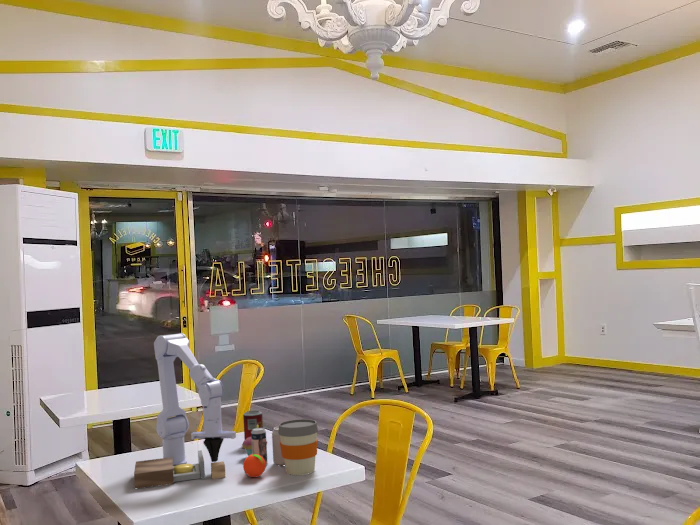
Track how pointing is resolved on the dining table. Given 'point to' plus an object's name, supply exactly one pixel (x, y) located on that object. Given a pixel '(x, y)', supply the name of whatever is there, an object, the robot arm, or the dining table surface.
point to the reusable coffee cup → (299, 445)
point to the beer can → (259, 442)
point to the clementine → (254, 465)
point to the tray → (197, 470)
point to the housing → (153, 472)
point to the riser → (218, 470)
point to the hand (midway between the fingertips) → (214, 461)
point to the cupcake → (248, 445)
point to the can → (277, 448)
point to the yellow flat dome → (183, 468)
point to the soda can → (252, 422)
